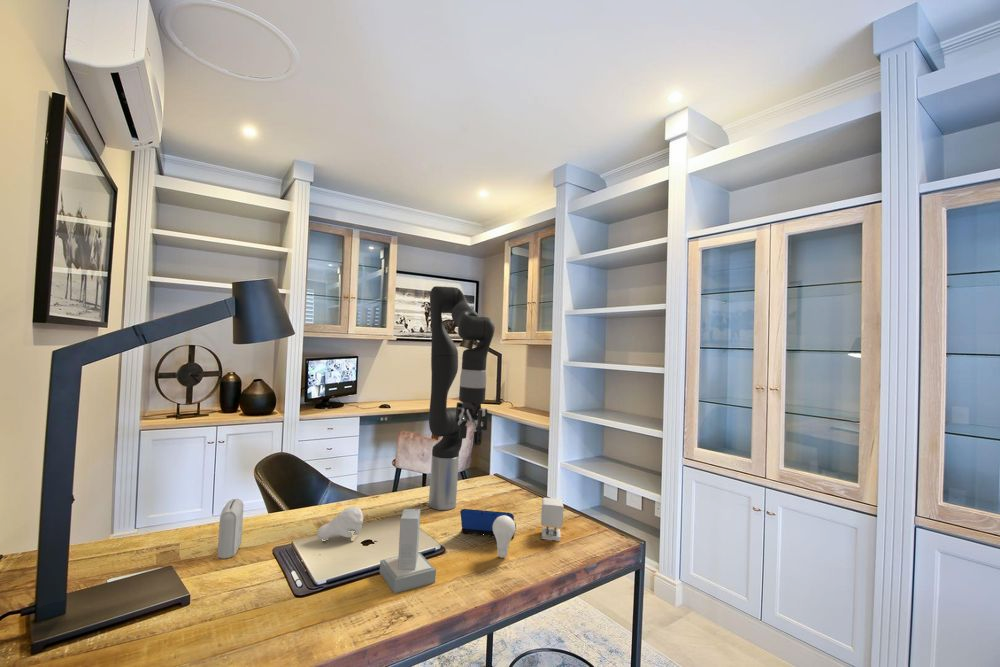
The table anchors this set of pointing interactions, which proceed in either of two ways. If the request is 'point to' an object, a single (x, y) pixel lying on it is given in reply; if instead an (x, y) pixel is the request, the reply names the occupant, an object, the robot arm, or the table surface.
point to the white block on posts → (552, 518)
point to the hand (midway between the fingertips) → (469, 441)
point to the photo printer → (230, 528)
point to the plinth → (407, 574)
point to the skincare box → (409, 539)
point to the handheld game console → (480, 521)
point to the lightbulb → (503, 533)
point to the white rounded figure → (343, 524)
